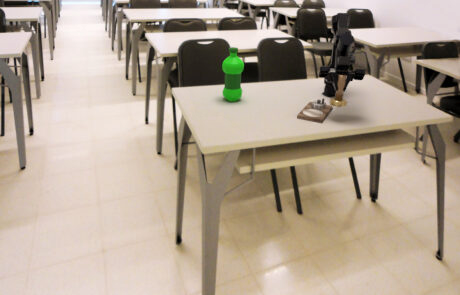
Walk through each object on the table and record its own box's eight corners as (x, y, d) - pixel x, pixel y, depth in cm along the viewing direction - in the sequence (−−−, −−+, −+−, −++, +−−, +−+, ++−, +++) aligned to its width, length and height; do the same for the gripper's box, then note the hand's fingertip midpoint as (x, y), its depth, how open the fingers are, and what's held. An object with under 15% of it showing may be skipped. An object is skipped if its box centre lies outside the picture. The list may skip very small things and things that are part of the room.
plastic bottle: (245, 102, 180) (247, 50, 169) (223, 103, 178) (224, 51, 167) (240, 95, 189) (242, 45, 178) (219, 96, 187) (220, 46, 176)
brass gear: (340, 101, 165) (345, 72, 159) (349, 106, 159) (354, 76, 153) (326, 102, 163) (330, 73, 157) (335, 108, 157) (340, 77, 151)
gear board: (309, 104, 179) (310, 92, 177) (332, 108, 175) (334, 96, 172) (297, 118, 164) (298, 105, 161) (321, 123, 160) (323, 109, 157)
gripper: (322, 46, 155) (320, 80, 150) (369, 49, 152) (368, 83, 147) (319, 60, 165) (317, 92, 161) (362, 63, 163) (361, 95, 158)
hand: (340, 90), depth 156 cm, fingers closed on brass gear, 3 cm apart
